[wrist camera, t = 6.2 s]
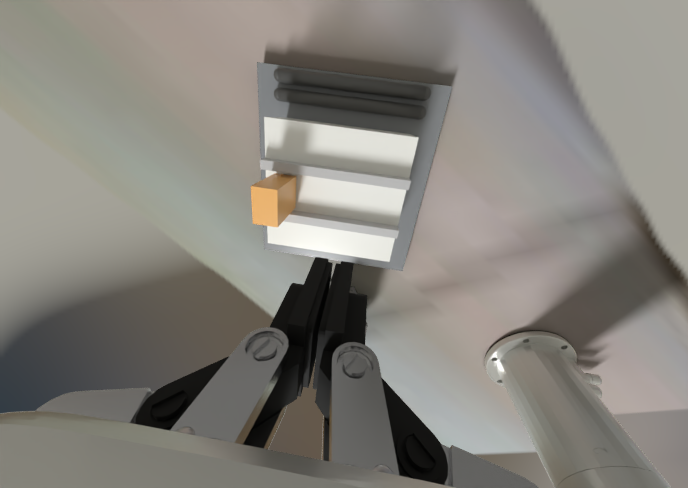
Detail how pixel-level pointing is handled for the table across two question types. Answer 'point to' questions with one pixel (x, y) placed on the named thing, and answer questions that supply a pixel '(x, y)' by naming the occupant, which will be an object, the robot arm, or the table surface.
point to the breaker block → (348, 160)
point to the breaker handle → (273, 199)
